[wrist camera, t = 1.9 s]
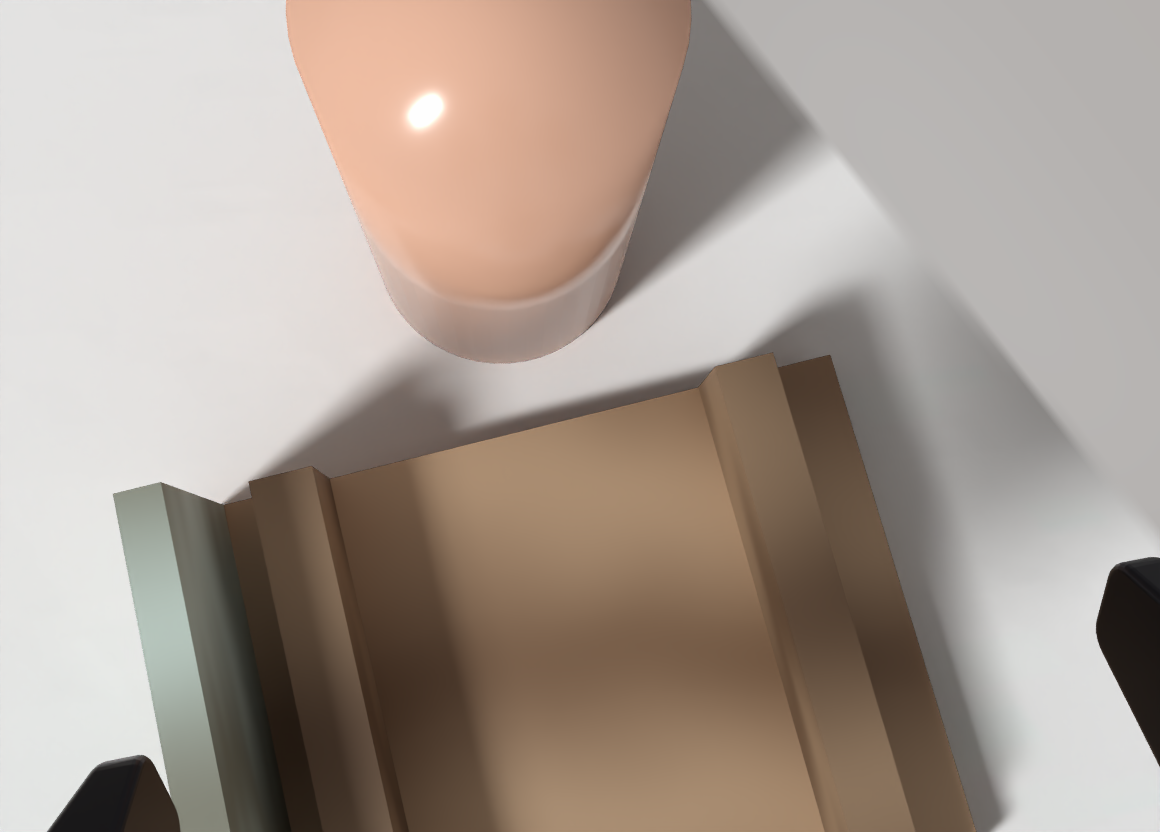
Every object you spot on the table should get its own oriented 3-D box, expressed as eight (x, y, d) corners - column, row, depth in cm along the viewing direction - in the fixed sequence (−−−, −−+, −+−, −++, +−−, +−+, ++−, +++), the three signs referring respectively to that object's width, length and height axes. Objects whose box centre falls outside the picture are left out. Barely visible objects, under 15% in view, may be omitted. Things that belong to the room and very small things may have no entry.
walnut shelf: (964, 858, 23) (1091, 928, 18) (310, 1055, 22) (246, 1192, 16) (815, 366, 25) (893, 302, 20) (201, 519, 23) (112, 493, 18)
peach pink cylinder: (632, 355, 25) (710, 184, 15) (383, 371, 24) (293, 207, 14) (611, 124, 26) (671, -181, 16) (372, 136, 25) (279, -169, 15)
